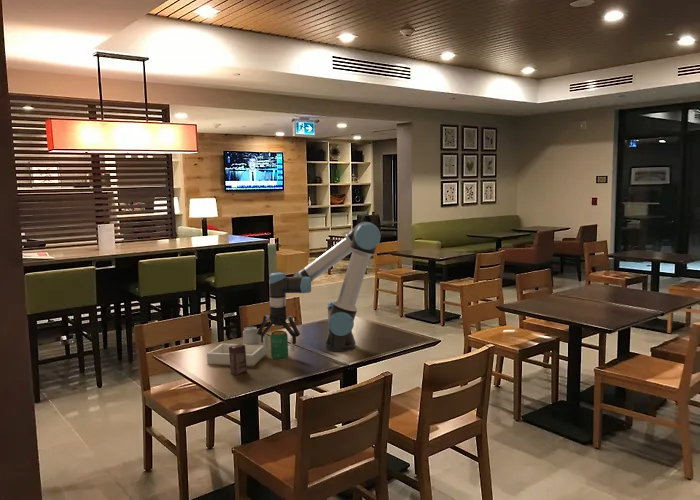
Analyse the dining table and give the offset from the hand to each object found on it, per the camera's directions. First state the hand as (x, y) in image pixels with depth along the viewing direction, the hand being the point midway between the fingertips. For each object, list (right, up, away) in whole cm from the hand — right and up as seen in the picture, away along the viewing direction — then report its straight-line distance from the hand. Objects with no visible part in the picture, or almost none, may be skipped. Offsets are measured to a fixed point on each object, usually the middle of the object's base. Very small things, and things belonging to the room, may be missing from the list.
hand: (278, 350), depth 265 cm
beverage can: (0, -4, 0) cm, 4 cm away
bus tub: (-19, -4, -2) cm, 20 cm away
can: (-15, -3, +10) cm, 18 cm away
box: (-15, -6, -20) cm, 26 cm away
